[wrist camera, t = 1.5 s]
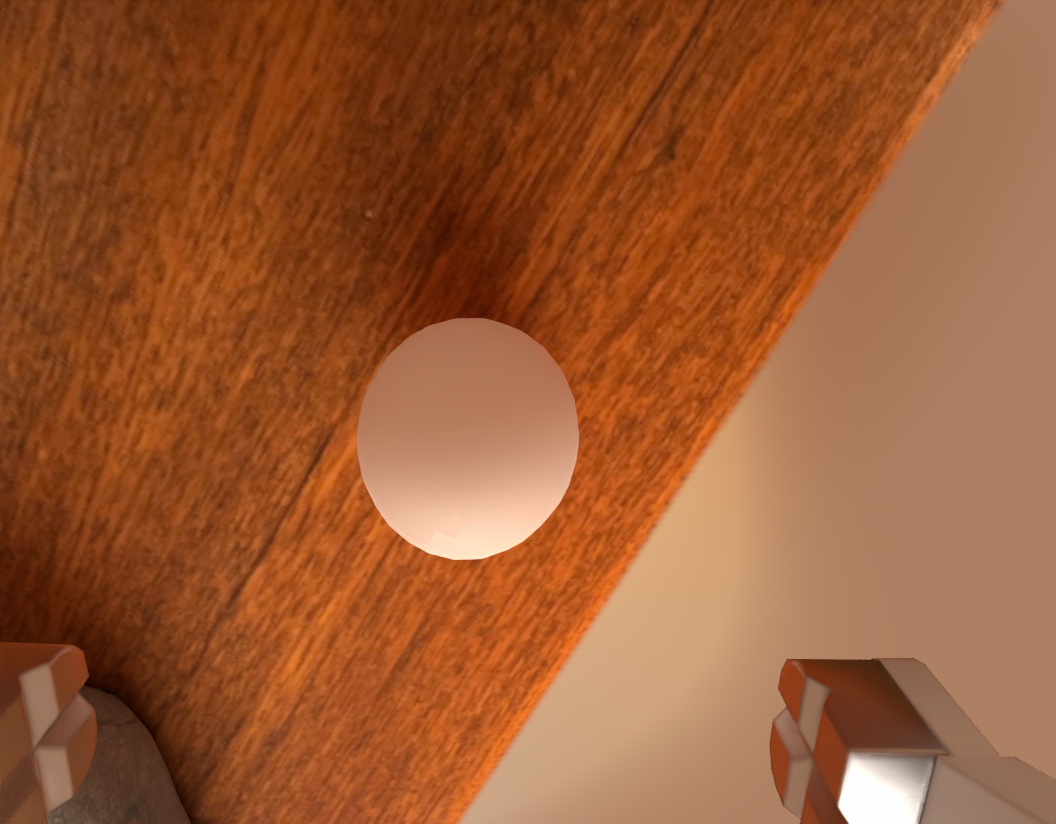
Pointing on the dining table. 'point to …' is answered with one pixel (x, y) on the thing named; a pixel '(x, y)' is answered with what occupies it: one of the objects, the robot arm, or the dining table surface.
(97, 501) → the dining table surface
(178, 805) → the stone
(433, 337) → the egg
